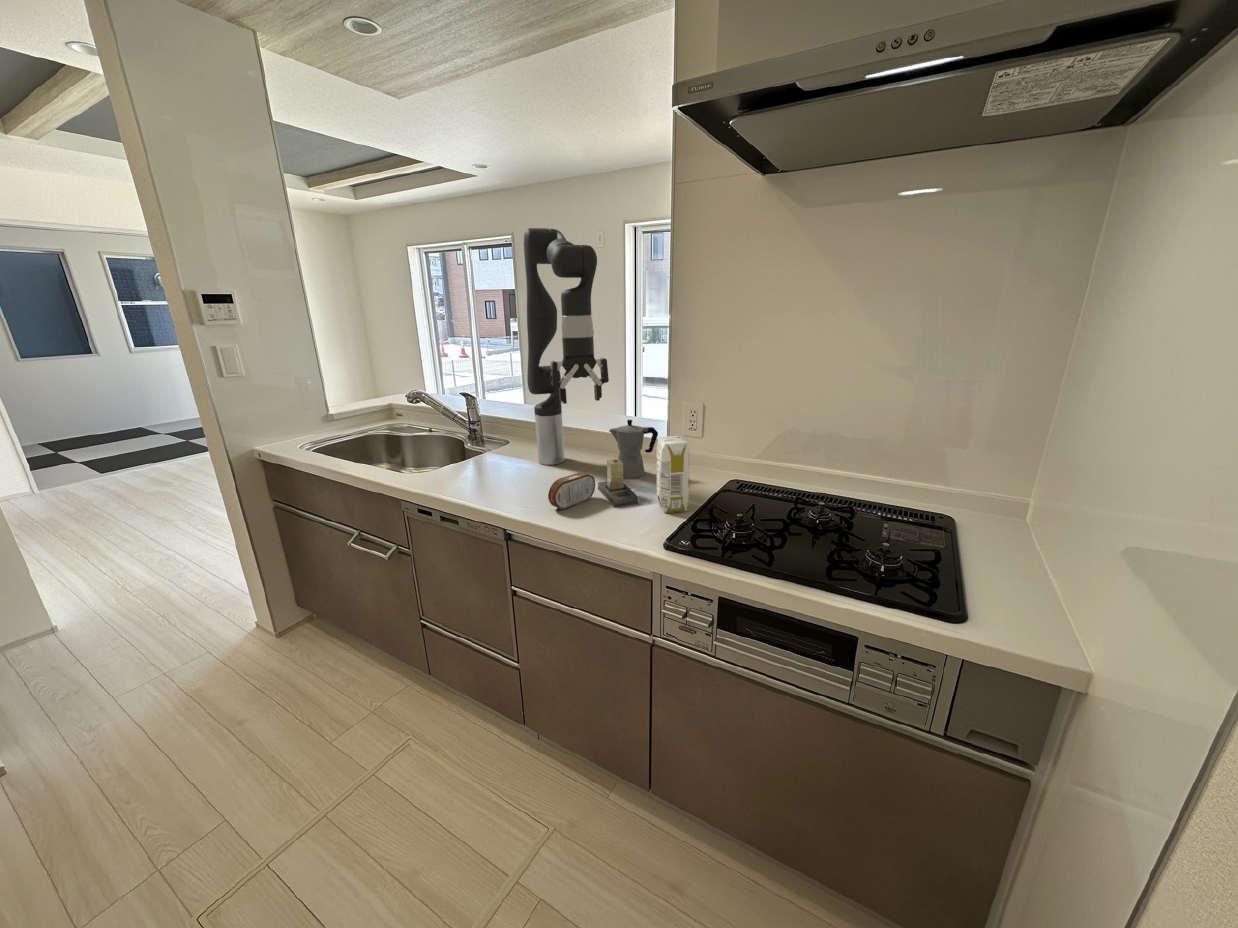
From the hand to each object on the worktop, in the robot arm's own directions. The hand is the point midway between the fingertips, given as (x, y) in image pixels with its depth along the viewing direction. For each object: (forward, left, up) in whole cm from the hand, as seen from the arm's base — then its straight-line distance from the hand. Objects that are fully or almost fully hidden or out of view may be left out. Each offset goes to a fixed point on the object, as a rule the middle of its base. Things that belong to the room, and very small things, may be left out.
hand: (580, 401), depth 122 cm
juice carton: (+8, +22, -30) cm, 38 cm away
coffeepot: (-21, +22, -30) cm, 42 cm away
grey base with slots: (-5, +11, -29) cm, 32 cm away
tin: (-4, -2, -30) cm, 30 cm away
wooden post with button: (-7, +11, -29) cm, 32 cm away
